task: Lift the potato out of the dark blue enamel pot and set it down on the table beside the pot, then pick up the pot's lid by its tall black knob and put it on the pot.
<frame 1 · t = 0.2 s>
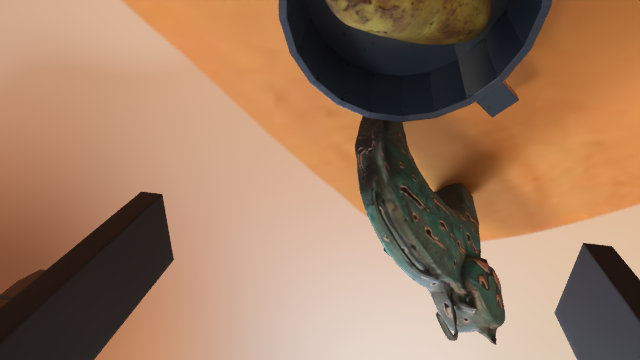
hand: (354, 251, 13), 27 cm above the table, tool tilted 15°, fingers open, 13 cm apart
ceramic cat: (420, 159, 45), on the table
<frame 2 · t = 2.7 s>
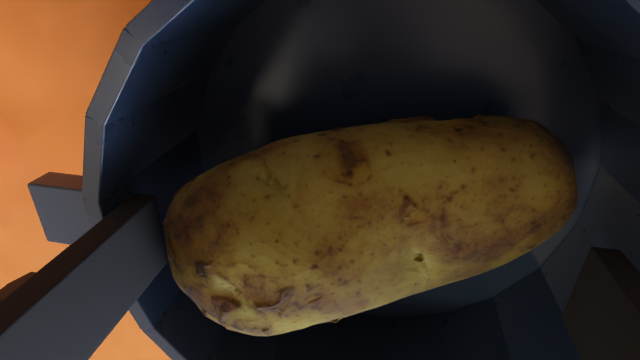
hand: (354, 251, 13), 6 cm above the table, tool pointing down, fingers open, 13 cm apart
pot: (381, 171, 17), on the table
potato: (381, 175, 17), resting on pot, touching gripper
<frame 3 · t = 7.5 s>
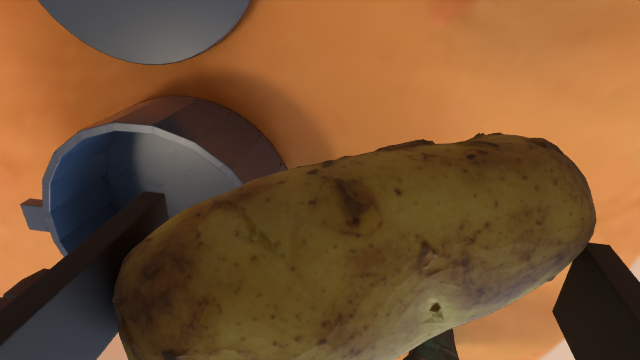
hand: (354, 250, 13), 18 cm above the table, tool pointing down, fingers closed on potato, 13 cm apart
pot: (197, 194, 35), on the table
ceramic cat: (361, 314, 39), on the table
potato: (362, 201, 15), point 15 cm above the table, touching gripper
when the fingers open (3 cm above the table, at t = 11.7 s): potato stays where it is, on the table.
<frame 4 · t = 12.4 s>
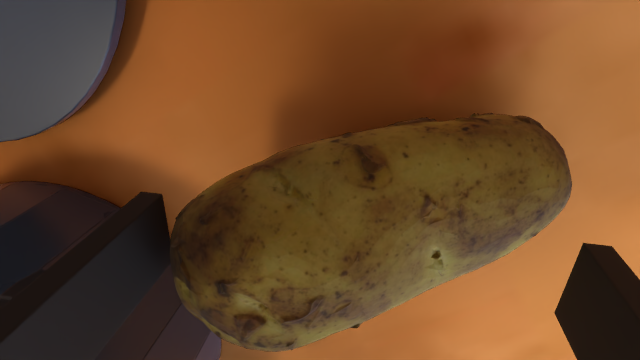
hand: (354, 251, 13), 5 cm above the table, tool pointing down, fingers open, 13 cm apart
pot: (86, 309, 25), on the table
potato: (373, 178, 17), on the table
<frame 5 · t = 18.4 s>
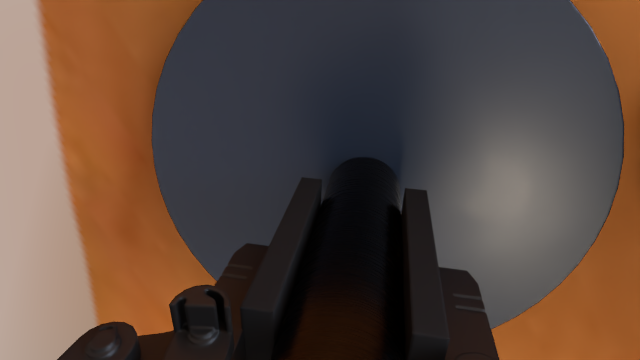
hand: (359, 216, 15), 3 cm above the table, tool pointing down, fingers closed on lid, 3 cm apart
lid: (364, 183, 17), point 1 cm above the table, touching gripper
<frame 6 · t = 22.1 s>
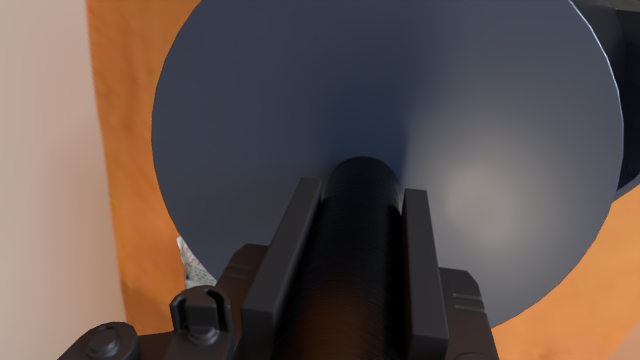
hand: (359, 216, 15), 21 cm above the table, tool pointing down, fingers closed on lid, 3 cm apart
pot: (502, 86, 31), on the table
packaged food: (239, 263, 44), on the table
lid: (364, 182, 17), point 18 cm above the table, touching gripper
when the fingers open (10 cm above the table, at t = 25.8 s): lid stays where it is, resting on pot.
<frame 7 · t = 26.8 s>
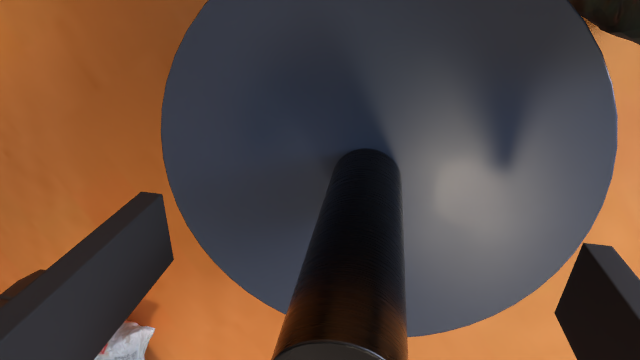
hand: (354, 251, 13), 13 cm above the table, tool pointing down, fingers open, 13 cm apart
packaged food: (108, 325, 37), on the table
lid: (367, 174, 18), point 7 cm above the table, touching pot
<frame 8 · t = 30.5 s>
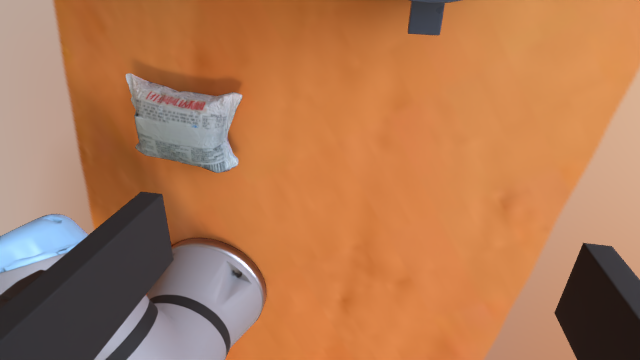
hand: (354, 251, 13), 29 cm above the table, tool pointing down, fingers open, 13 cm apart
packaged food: (194, 115, 44), on the table
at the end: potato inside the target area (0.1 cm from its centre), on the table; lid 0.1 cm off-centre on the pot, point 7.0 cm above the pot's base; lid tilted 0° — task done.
